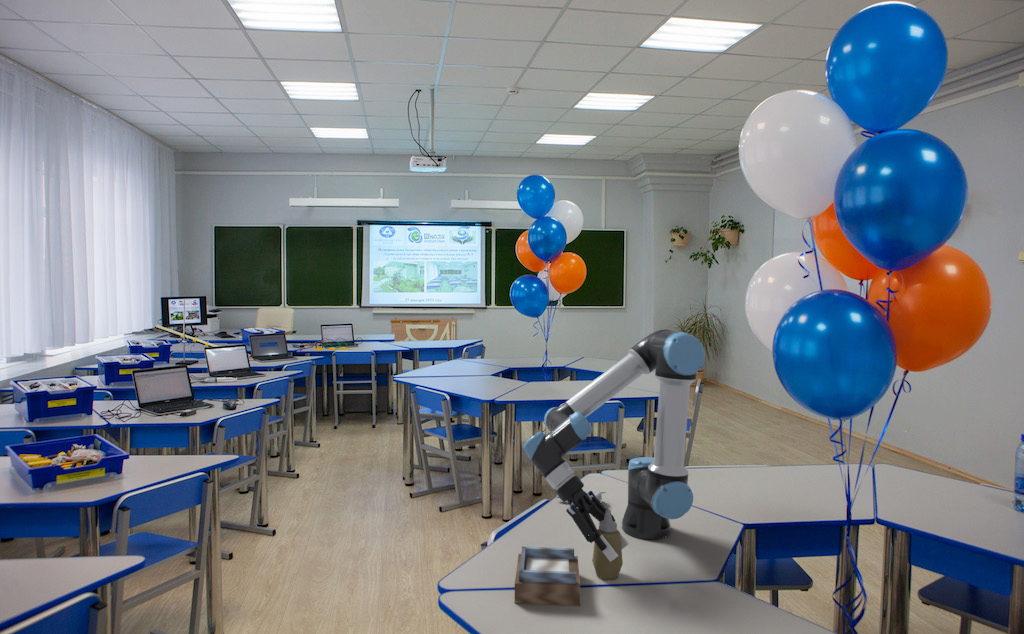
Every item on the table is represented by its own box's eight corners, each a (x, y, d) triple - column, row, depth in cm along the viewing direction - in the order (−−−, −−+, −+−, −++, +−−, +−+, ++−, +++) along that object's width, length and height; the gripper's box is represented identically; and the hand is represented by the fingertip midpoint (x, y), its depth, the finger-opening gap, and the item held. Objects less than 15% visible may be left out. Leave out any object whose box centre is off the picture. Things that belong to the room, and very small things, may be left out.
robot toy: (553, 504, 214) (588, 512, 204) (553, 492, 214) (587, 499, 204) (573, 495, 223) (607, 502, 213) (573, 483, 223) (607, 490, 213)
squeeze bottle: (615, 585, 155) (616, 518, 154) (587, 577, 159) (588, 511, 158) (626, 573, 162) (628, 508, 161) (599, 565, 166) (600, 502, 165)
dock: (577, 574, 161) (577, 547, 160) (579, 606, 145) (580, 576, 145) (518, 571, 162) (518, 544, 162) (514, 603, 146) (514, 573, 146)
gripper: (571, 479, 176) (623, 545, 169) (539, 501, 158) (595, 576, 151) (588, 465, 173) (641, 531, 166) (558, 485, 155) (616, 560, 148)
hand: (619, 552), depth 158 cm, fingers open, 8 cm apart
